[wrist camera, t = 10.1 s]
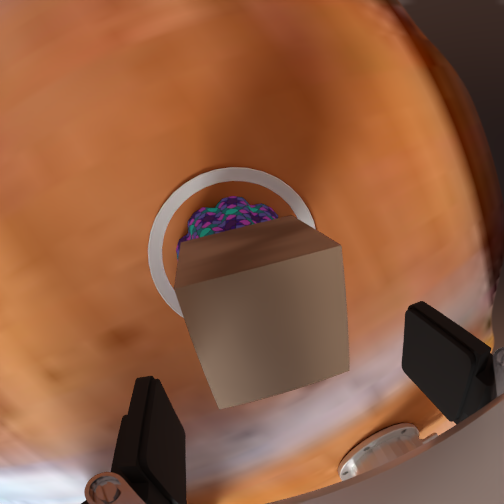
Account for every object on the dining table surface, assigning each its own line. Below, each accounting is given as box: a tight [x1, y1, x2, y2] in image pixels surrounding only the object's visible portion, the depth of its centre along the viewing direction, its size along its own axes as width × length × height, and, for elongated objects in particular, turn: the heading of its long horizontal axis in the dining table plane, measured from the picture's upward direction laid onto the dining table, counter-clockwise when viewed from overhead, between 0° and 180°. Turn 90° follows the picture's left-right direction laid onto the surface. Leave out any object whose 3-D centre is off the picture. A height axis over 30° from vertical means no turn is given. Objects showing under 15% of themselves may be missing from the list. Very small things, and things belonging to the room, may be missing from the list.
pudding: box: [148, 167, 316, 318], centre depth 19 cm, size 12×12×5 cm
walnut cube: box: [174, 215, 349, 410], centre depth 14 cm, size 6×6×6 cm
